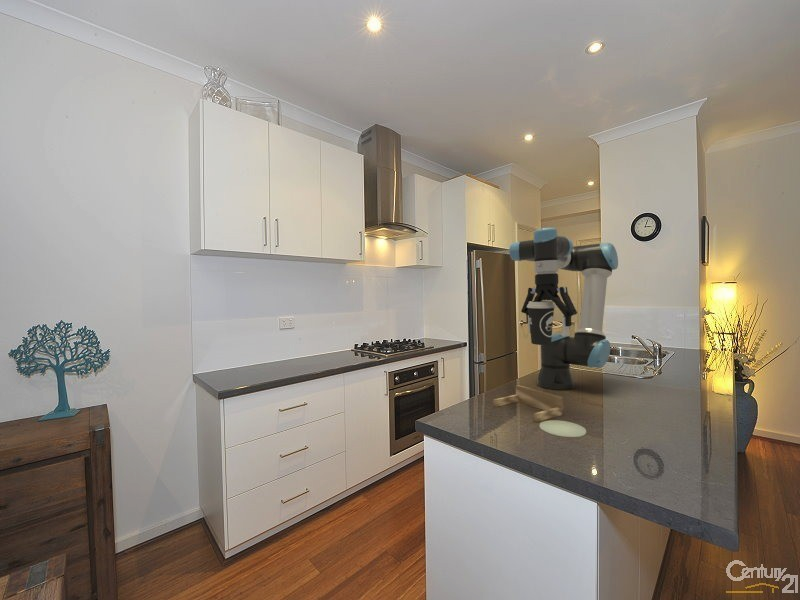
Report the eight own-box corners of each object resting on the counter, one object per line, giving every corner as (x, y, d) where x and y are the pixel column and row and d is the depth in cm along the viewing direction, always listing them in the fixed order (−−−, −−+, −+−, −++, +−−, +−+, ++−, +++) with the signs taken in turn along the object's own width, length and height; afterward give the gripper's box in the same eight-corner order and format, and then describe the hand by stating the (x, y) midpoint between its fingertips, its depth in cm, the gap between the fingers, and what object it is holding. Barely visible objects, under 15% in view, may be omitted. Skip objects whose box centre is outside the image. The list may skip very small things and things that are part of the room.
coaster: (557, 418, 115) (557, 417, 115) (595, 431, 104) (595, 430, 104) (530, 426, 109) (530, 425, 109) (568, 440, 98) (568, 439, 98)
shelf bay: (518, 400, 136) (518, 385, 136) (563, 414, 119) (563, 397, 119) (493, 406, 129) (493, 390, 129) (536, 422, 112) (536, 403, 112)
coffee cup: (549, 340, 128) (549, 300, 127) (560, 345, 118) (560, 301, 118) (523, 341, 128) (523, 300, 128) (531, 346, 119) (531, 302, 118)
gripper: (510, 275, 129) (512, 332, 130) (574, 271, 108) (575, 339, 108) (523, 275, 133) (525, 330, 134) (587, 270, 112) (589, 336, 112)
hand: (548, 334), depth 121 cm, fingers open, 13 cm apart
